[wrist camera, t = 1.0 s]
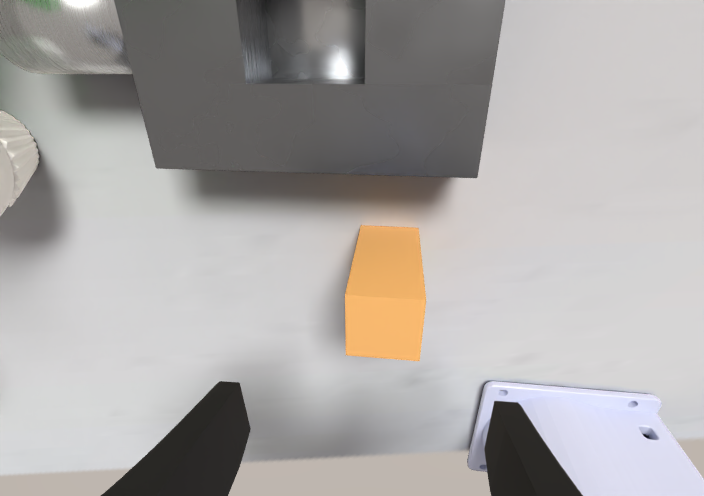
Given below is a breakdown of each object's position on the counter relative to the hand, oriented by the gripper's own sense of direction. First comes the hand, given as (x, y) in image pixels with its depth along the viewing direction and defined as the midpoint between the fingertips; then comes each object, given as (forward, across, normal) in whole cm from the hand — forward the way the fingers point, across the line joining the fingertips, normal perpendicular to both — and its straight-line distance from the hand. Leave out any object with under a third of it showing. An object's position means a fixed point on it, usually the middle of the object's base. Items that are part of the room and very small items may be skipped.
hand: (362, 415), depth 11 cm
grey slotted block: (+9, +5, -10) cm, 15 cm away
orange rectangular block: (+9, 0, 0) cm, 9 cm away
